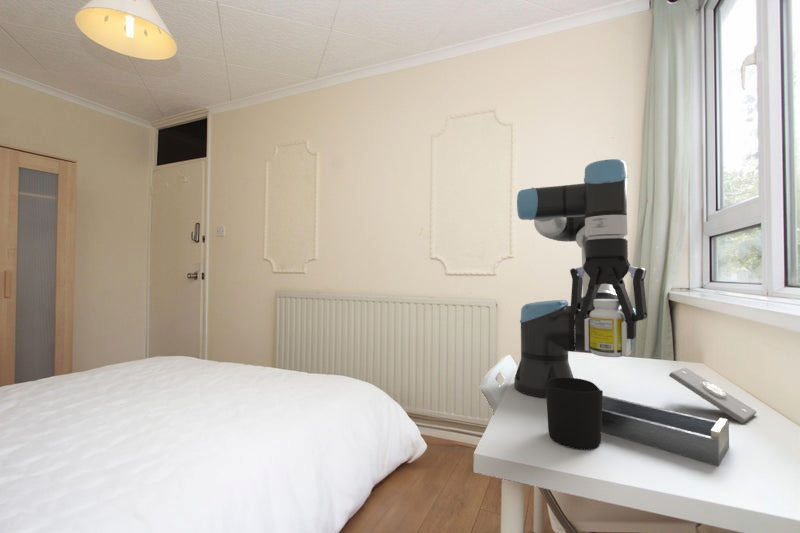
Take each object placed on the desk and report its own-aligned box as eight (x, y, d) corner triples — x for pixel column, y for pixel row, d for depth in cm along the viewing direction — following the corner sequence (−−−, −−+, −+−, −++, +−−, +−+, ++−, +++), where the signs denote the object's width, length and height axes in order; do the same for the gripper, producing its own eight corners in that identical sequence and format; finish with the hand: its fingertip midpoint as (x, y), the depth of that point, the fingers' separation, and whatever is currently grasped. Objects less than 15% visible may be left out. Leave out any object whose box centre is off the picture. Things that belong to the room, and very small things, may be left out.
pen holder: (612, 441, 67) (611, 385, 67) (588, 457, 61) (587, 395, 61) (562, 424, 74) (561, 374, 75) (536, 437, 68) (535, 383, 69)
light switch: (748, 416, 74) (672, 368, 85) (730, 437, 76) (659, 388, 87) (760, 408, 79) (687, 363, 90) (743, 428, 81) (674, 382, 92)
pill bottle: (613, 350, 78) (613, 298, 78) (631, 357, 72) (631, 301, 72) (584, 350, 78) (583, 298, 78) (599, 358, 72) (599, 301, 72)
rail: (581, 425, 74) (580, 400, 74) (600, 413, 80) (600, 390, 81) (718, 466, 58) (717, 433, 58) (729, 446, 65) (728, 417, 65)
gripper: (551, 240, 80) (552, 347, 80) (656, 234, 66) (658, 364, 66) (566, 241, 85) (567, 342, 85) (667, 236, 71) (668, 357, 71)
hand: (607, 352), depth 75 cm, fingers closed on pill bottle, 6 cm apart
